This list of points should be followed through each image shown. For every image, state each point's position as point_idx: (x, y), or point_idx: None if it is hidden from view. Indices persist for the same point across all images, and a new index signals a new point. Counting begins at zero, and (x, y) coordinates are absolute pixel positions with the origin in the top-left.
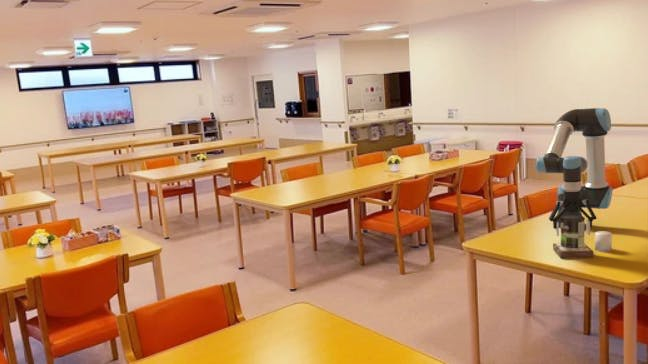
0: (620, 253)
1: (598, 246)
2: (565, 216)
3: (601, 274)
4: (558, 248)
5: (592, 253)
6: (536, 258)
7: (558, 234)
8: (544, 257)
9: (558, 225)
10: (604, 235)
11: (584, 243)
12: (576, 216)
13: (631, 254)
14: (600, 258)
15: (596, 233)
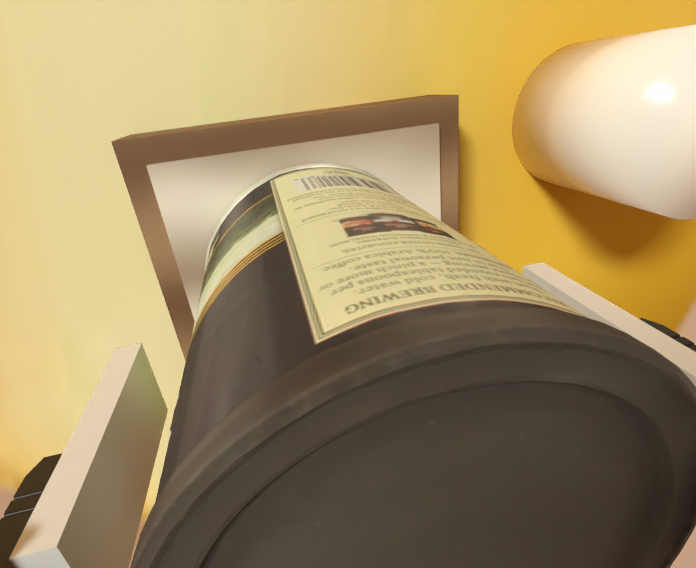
0: (634, 219)
1: (547, 172)
2: (289, 498)
3: None
4: (185, 323)
5: None
6: (9, 411)
7: (159, 428)
8: (75, 378)
9: (126, 561)
10: (681, 217)
11: (455, 129)
12: (590, 450)
13: (682, 236)
14: None
15: (647, 141)
